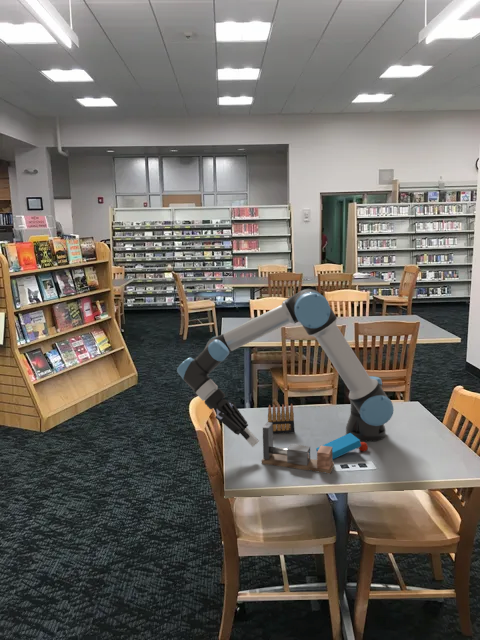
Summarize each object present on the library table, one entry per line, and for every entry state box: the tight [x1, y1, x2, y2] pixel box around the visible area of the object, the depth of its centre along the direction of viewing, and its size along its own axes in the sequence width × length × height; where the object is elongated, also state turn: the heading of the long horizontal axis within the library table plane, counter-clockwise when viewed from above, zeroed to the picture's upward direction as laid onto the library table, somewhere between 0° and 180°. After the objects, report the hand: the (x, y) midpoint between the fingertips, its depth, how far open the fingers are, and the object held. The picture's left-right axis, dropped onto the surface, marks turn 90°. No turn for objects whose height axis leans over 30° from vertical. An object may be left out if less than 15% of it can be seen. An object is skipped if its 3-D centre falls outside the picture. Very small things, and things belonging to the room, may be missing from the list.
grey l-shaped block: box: [262, 421, 311, 459], centre depth 169 cm, size 16×5×12 cm, turn 69°
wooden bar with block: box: [261, 443, 335, 474], centre depth 168 cm, size 24×6×7 cm, turn 69°
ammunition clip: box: [267, 403, 296, 435], centre depth 196 cm, size 11×2×12 cm, turn 93°
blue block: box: [315, 433, 369, 460], centre depth 176 cm, size 7×7×18 cm
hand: (255, 443), depth 173 cm, fingers closed
